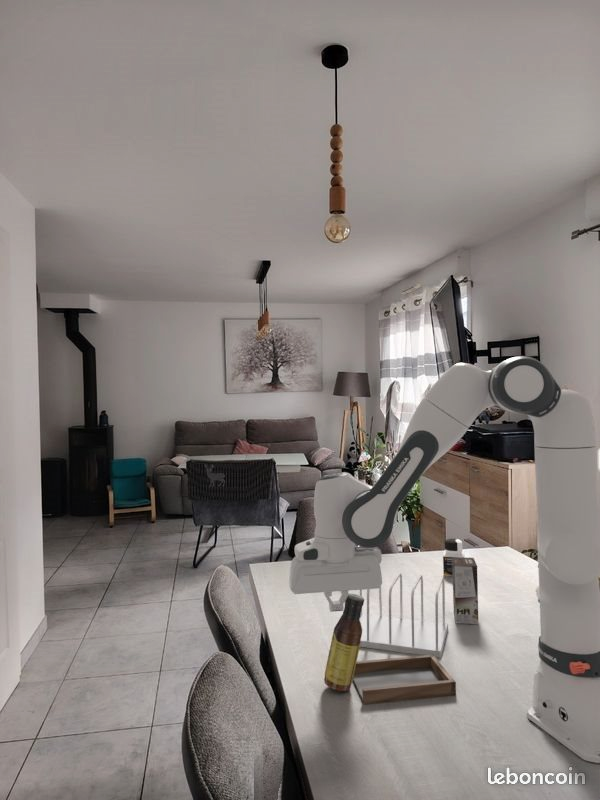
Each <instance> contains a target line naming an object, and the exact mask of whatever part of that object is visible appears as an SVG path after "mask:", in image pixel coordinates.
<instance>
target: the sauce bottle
mask: <svg viewBox="0 0 600 800" xmlns="http://www.w3.org/2000/svg"><path fill="white" fill-rule="evenodd" d="M345 602H346V603H345ZM345 602H344V610H343V611H342V615H341V616H340V618H339V619H338V621H337V623H336V625H335V626H334V628H333V632H332V637H331V642H330V647H329V651H328V655H327V656H328V657H327V661H326V665H325V671H324V679H323V680H324V685H327V687H329V688H330V689H332V690H335V691H337V692H347V691H350V689H351V688H352V683H353V677H354V672H355V667H356V662H357V661H358V658H359V657H358V656H359V652H360V648H361V647H360V643H361V641H360V640H361V636H362V626H361V623H360V620H359V619H360V614H361V610H362V611H363V606H364V603H365V598H364V596H363V595H362V596H360V594H356V593H348V597H347V599H346V600H345Z"/></svg>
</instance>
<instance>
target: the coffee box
mask: <svg viewBox="0 0 600 800" xmlns="http://www.w3.org/2000/svg"><path fill="white" fill-rule="evenodd" d="M452 575H453V576H452V597H453V598H452V601H453V603H452V604H453V614H454V621H455V623H456V624H467V625H470V624H471V625H479V592H478V590H479V589H478V587H479V585H478V584H479V582H478V564H477V562H476V561H475V558H474V557H464V558H452Z"/></svg>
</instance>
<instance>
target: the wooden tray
mask: <svg viewBox="0 0 600 800" xmlns="http://www.w3.org/2000/svg"><path fill="white" fill-rule="evenodd" d="M352 683H353V685H354V686H355V688H356V691H357V693H358V695H359V697H360V699H361V701H362V703H363V705H373V704H382V703H383V704H384V703H391V702H401V701H411V700H419V699H421V700H423V699H429V698H430V699H431V698H440V697H450V696H456V695H457V681H456V679H454V678H453V677H452V675H451V674H450V673H449V672H448V670H447V669H446V668H445V667H444V666H443V665H442V663H441V662H440V661H439V659H438V657H435V656H434V655H413V656H402V657H392V658H382V659H381V658H380V659H370V660H369V659H368V660H357V662H356V667H355V672H354V677H353V681H352Z"/></svg>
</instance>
